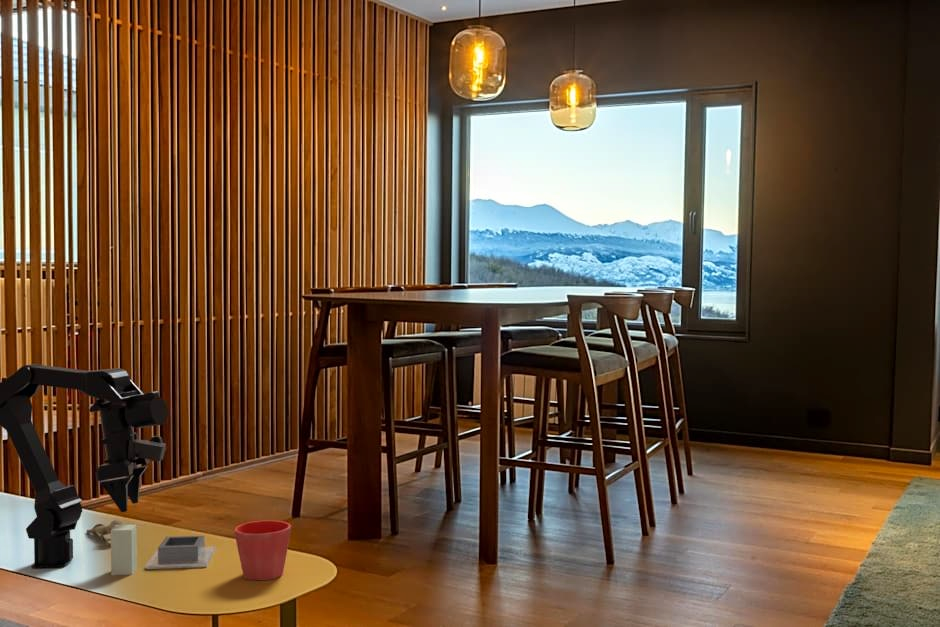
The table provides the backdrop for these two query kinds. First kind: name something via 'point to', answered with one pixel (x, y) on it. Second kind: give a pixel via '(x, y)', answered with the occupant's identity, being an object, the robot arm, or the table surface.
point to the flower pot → (262, 548)
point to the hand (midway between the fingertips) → (130, 507)
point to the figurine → (105, 528)
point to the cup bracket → (181, 553)
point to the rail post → (123, 550)
